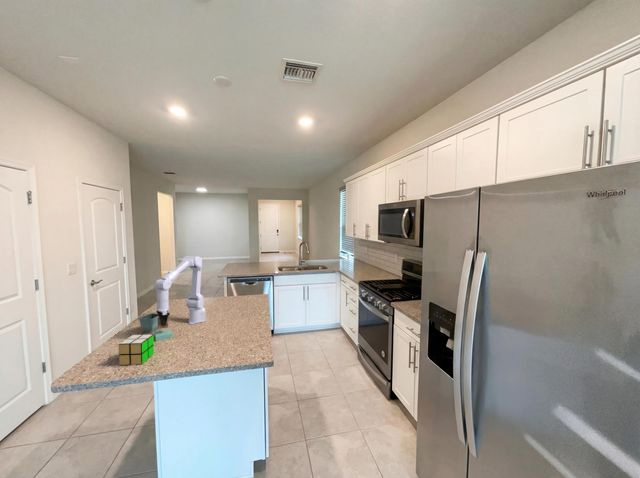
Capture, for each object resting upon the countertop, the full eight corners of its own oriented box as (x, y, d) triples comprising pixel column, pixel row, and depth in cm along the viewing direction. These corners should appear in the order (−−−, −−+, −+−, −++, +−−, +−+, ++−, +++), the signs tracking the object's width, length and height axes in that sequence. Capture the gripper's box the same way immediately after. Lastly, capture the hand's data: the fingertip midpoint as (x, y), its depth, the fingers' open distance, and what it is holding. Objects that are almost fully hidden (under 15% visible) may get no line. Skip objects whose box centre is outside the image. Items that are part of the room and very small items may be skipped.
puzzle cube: (132, 354, 125) (132, 334, 125) (154, 353, 126) (153, 334, 125) (118, 365, 115) (118, 343, 115) (141, 364, 116) (141, 343, 116)
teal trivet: (170, 333, 151) (170, 328, 151) (172, 338, 144) (172, 333, 144) (154, 337, 146) (154, 332, 146) (155, 342, 139) (155, 336, 139)
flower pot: (151, 334, 149) (151, 319, 148) (138, 332, 151) (138, 317, 150) (163, 328, 157) (163, 314, 157) (151, 327, 159) (151, 313, 159)
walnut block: (166, 324, 148) (166, 315, 148) (168, 327, 144) (167, 317, 144) (157, 326, 145) (157, 317, 145) (158, 329, 142) (158, 319, 141)
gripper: (153, 298, 147) (153, 321, 148) (155, 304, 136) (156, 329, 137) (167, 296, 152) (167, 319, 152) (170, 302, 140) (171, 326, 141)
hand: (163, 324), depth 145 cm, fingers closed on walnut block, 4 cm apart
